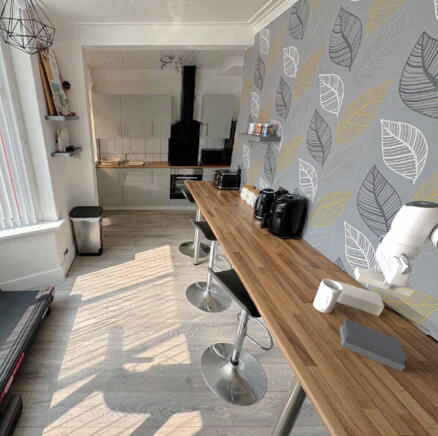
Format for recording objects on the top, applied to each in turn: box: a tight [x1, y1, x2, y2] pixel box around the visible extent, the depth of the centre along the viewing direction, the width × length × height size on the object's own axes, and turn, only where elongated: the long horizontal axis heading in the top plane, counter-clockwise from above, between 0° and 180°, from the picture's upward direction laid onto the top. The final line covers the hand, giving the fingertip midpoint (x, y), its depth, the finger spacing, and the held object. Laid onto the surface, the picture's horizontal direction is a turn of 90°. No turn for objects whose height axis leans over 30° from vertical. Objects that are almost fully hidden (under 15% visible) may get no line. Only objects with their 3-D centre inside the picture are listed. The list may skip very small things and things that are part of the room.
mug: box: [312, 278, 343, 314], centre depth 93 cm, size 10×7×12 cm, turn 148°
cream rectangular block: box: [353, 266, 415, 297], centre depth 83 cm, size 14×6×2 cm, turn 58°
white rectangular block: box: [336, 280, 385, 317], centre depth 100 cm, size 15×9×5 cm, turn 57°
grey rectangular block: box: [339, 319, 407, 372], centre depth 79 cm, size 15×9×5 cm, turn 57°
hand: (381, 281), depth 83 cm, fingers closed on cream rectangular block, 6 cm apart
